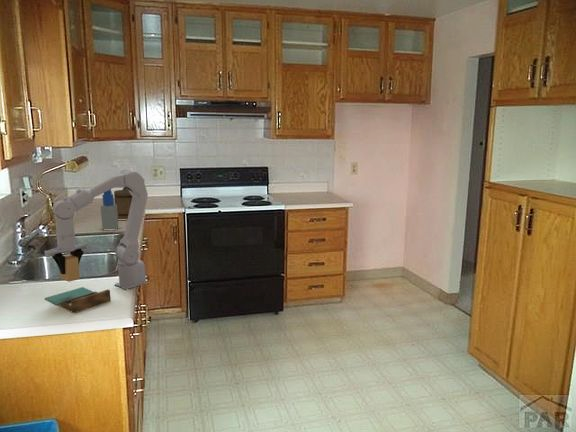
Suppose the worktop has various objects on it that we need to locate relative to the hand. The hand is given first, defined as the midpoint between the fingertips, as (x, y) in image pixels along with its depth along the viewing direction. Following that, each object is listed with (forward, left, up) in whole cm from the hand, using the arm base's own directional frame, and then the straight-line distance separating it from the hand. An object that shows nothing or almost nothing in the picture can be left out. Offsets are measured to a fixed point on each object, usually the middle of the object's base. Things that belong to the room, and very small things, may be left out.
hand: (69, 272), depth 160 cm
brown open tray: (0, +9, -9) cm, 13 cm away
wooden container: (-91, -107, -10) cm, 141 cm away
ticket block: (0, 0, -2) cm, 2 cm away
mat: (0, -1, -9) cm, 9 cm away
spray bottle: (-67, -87, -10) cm, 110 cm away
